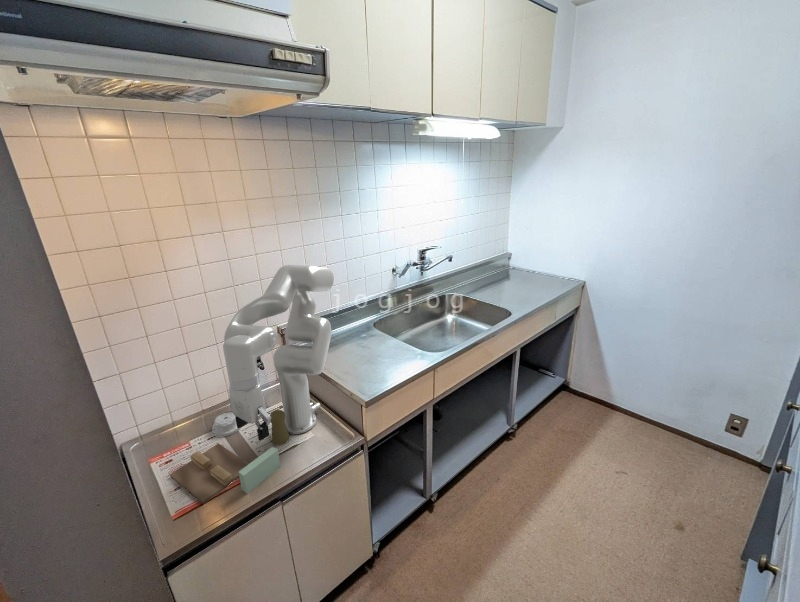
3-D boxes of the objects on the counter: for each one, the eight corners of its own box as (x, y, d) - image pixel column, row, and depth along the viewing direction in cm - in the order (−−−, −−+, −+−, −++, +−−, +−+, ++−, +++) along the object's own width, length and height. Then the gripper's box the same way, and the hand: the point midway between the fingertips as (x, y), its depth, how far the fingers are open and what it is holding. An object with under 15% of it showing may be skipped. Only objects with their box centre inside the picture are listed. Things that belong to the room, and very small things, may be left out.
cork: (270, 435, 130) (266, 409, 127) (288, 431, 133) (284, 405, 129) (272, 447, 125) (267, 420, 121) (290, 442, 127) (287, 415, 123)
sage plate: (275, 464, 118) (272, 446, 116) (280, 467, 117) (277, 449, 114) (242, 490, 109) (238, 471, 106) (247, 494, 108) (243, 475, 105)
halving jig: (219, 445, 126) (217, 438, 125) (252, 467, 117) (250, 460, 116) (170, 476, 113) (168, 469, 112) (203, 504, 104) (201, 496, 103)
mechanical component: (206, 435, 131) (231, 439, 129) (204, 425, 130) (229, 428, 128) (224, 417, 140) (247, 421, 138) (222, 407, 139) (246, 411, 137)
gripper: (213, 377, 102) (223, 428, 108) (252, 396, 93) (261, 451, 99) (237, 365, 108) (245, 414, 114) (276, 383, 99) (283, 435, 105)
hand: (253, 431), depth 106 cm, fingers open, 9 cm apart
